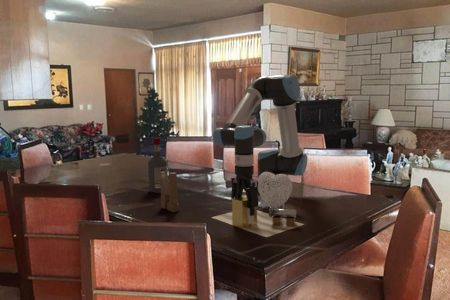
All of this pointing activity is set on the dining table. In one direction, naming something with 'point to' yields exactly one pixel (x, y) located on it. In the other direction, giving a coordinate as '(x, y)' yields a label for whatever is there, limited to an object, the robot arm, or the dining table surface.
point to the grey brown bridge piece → (281, 213)
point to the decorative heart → (274, 189)
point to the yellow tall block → (241, 212)
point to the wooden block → (169, 193)
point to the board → (260, 224)
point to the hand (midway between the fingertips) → (244, 221)
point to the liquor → (156, 168)
